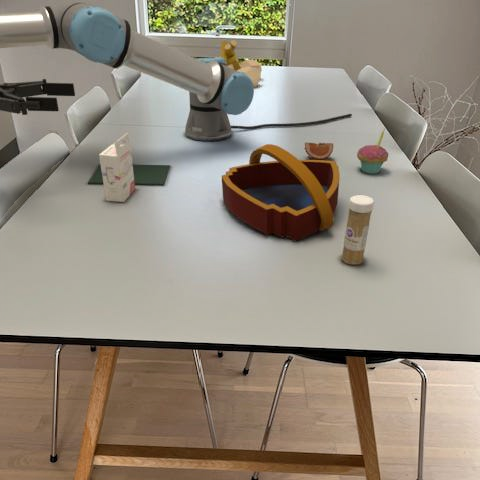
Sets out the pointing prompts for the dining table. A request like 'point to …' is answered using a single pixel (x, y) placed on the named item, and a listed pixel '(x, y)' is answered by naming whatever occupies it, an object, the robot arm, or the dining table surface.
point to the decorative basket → (283, 193)
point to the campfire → (247, 66)
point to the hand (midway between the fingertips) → (66, 96)
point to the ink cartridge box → (117, 170)
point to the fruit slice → (319, 150)
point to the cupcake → (372, 157)
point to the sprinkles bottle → (357, 229)
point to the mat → (139, 175)
